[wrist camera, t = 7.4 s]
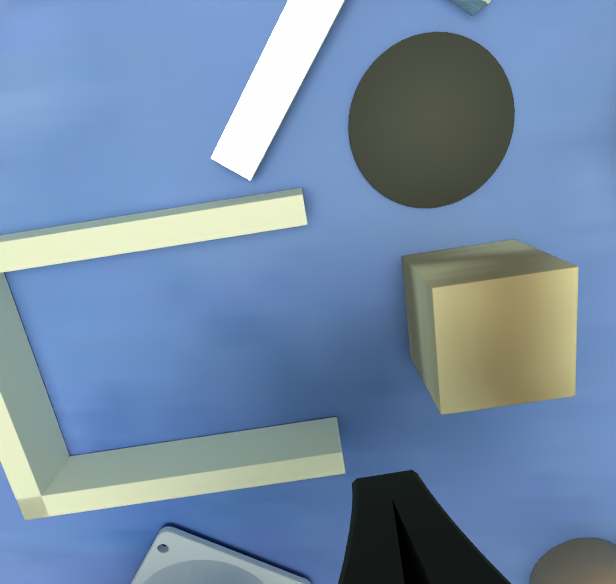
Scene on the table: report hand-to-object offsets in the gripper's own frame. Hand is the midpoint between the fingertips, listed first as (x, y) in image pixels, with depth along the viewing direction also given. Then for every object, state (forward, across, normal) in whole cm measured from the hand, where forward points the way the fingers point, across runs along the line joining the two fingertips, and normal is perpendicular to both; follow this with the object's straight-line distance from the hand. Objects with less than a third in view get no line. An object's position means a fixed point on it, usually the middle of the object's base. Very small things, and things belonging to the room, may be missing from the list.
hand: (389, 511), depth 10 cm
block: (+10, -5, -1) cm, 11 cm away
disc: (+10, -4, -8) cm, 13 cm away
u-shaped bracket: (+10, +7, -1) cm, 12 cm away
